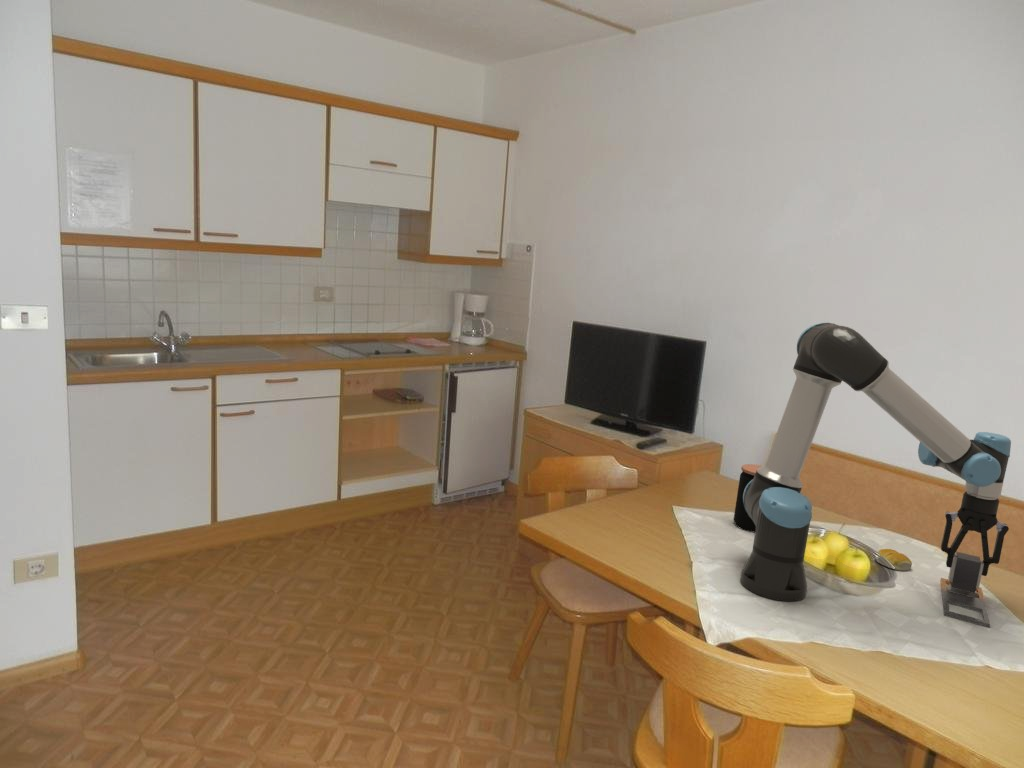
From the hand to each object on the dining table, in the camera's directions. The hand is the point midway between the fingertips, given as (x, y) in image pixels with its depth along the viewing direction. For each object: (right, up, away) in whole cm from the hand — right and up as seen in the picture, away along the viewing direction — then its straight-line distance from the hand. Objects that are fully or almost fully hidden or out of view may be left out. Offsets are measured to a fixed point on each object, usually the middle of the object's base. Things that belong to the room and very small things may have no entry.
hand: (963, 582), depth 180 cm
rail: (-4, -3, -6) cm, 7 cm away
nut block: (0, -1, 0) cm, 1 cm away
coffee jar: (-42, +7, +35) cm, 55 cm away
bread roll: (-10, 0, +15) cm, 18 cm away
